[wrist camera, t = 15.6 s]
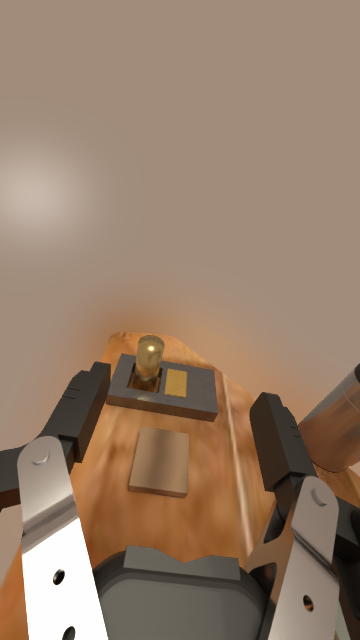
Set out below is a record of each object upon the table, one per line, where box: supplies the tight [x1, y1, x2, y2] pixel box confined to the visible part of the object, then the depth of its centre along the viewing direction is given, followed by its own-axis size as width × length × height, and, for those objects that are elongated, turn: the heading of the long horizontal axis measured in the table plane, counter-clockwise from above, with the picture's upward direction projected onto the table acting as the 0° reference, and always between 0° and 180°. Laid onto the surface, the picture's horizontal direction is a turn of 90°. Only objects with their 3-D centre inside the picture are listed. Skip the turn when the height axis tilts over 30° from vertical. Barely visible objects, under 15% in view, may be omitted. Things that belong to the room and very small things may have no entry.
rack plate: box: [106, 353, 218, 422], centre depth 43 cm, size 20×10×3 cm, turn 86°
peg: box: [133, 335, 164, 392], centre depth 40 cm, size 4×4×12 cm
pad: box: [128, 426, 189, 498], centre depth 33 cm, size 8×8×2 cm
